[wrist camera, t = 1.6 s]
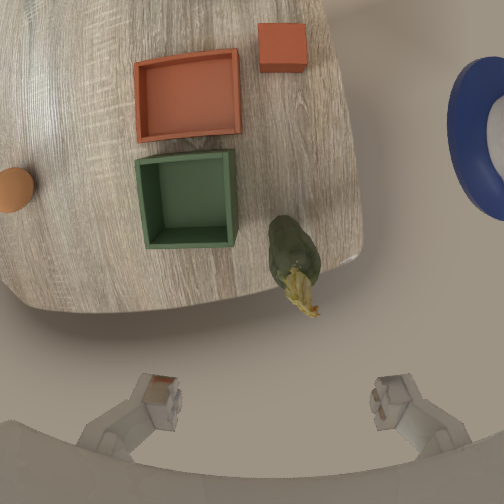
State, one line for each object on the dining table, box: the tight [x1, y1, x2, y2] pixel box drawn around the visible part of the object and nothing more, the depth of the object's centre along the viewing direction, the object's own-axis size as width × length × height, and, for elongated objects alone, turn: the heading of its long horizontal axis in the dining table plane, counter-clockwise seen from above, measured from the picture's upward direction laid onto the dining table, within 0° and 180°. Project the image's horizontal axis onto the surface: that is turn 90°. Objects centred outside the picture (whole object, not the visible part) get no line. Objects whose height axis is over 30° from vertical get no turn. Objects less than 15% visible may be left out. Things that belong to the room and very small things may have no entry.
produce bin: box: [135, 149, 239, 249], centre depth 34 cm, size 10×10×6 cm
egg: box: [0, 167, 34, 213], centre depth 33 cm, size 7×7×9 cm
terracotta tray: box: [134, 48, 242, 143], centre depth 31 cm, size 12×10×3 cm
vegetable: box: [268, 215, 321, 317], centre depth 29 cm, size 4×4×20 cm
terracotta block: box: [258, 23, 308, 73], centre depth 28 cm, size 5×5×5 cm
